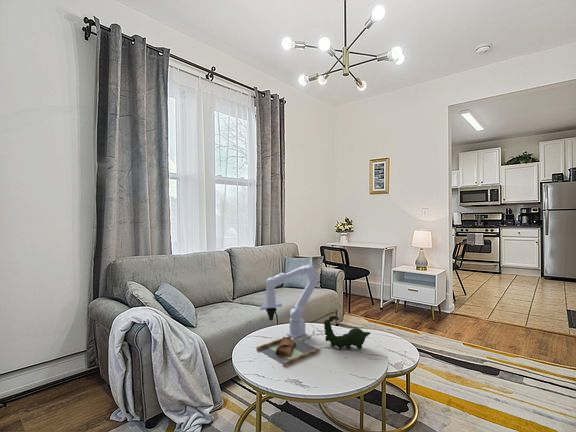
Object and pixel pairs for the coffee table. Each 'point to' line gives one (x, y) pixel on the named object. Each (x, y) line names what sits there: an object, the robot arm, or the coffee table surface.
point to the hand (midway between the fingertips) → (271, 319)
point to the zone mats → (297, 350)
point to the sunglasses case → (285, 347)
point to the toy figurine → (344, 336)
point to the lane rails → (292, 358)
